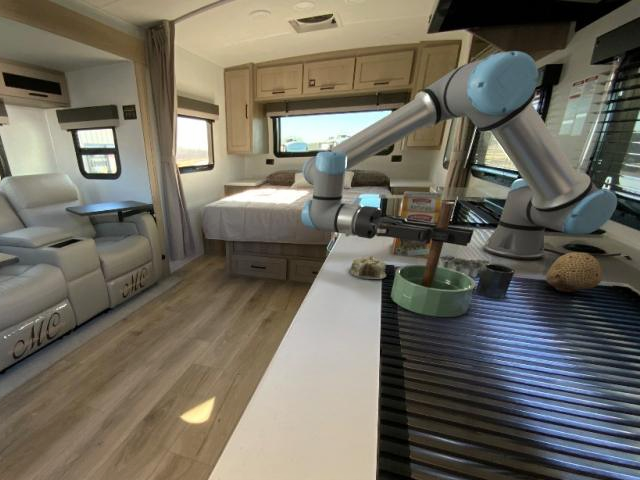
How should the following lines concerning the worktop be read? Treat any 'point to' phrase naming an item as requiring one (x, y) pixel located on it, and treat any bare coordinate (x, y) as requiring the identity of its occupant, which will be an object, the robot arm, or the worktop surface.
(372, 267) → the cake
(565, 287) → the natural sponge
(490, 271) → the utensil cup
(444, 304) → the bowl
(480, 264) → the egg carton
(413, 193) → the yellow food carton
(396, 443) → the worktop surface
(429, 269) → the stick
